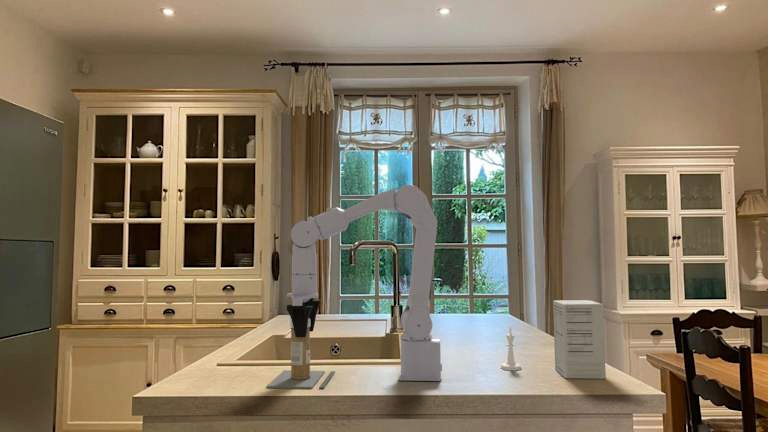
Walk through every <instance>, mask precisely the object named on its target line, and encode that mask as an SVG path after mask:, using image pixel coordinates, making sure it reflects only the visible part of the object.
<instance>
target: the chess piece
mask: <svg viewBox="0 0 768 432" xmlns="http://www.w3.org/2000/svg"><path fill="white" fill-rule="evenodd" d="M508 331H509V333H507V334H506V336H505V337H506V339H507V343H506V345H505V346H507V347H508V353H507V359H506V360H505V362H503V363H501V365H500V368H501V370H505V371H520V370H521V369H522V365H521V364H520V363H517V362H516V360H515V357H514V348H513V347H515V346H516V344H515V343H513V342H514V338H515V334H513V333H512V327H511V326H509V329H508Z"/></svg>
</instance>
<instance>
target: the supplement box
mask: <svg viewBox="0 0 768 432" xmlns="http://www.w3.org/2000/svg"><path fill="white" fill-rule="evenodd" d="M552 304H553V306H552V309H553V329H554V330H553V331H554V332H553V335H554V338H553V340H554V341H553V342H554V371H557V372H558V373H559V374H560V375H562V377H564V378H565V379H589V380H590V379H591V380H592V379H593V380H594V379H596V380H597V379H601V380H604V379H607V378H606V377H607V376H606V371H607V370H606V347H605V346H606V345H605V342H606V341H605V315H604V314H605V313H604V311H605V310H604V303H600V302H597V301H593V300H590V299H589V300H588V299H583V300H582V299H581V300H580V299H579V300H577V299H575V300H572V299H571V300H570V299H569V300H568V299H567V300H566V299H565V300H562V299H560V300H555V299H554V300H553V301H552Z"/></svg>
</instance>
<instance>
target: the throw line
mask: <svg viewBox="0 0 768 432" xmlns="http://www.w3.org/2000/svg"><path fill="white" fill-rule="evenodd" d="M334 373H336V371H333V370H332V371H331V370H330V372H329V374H328V375H327V376H326V378H325V379H324V381H323V382H322V383H321V385H320V386H319V387H318V389H319V390H324V389H326V387H327V385H328V384H329V383H330V381H331V379H332V378H333V377H334V375H335V374H334ZM332 376H333V377H332Z"/></svg>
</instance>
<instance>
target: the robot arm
mask: <svg viewBox="0 0 768 432" xmlns="http://www.w3.org/2000/svg"><path fill="white" fill-rule="evenodd" d="M325 209H326V211H324V212H322V213H319V214H317V215H315V216H314V217H313V216H308V217H306V218H307V221H306V220H300V221H299V222H297V223H295V225H294V226H292V229H291V230H290V237H291V240H292V242H293V243H292V247H291V251H292V254H291V292H289V293H287V294H286V297H287V298H291V301H292V303H291V304H287V305H286V311H287V312H288V315H289V317H290V320H291V319H292V323H293V327H294V332H295V336H296V337H306V333H307V326H308V319H309V318H310V321H311V326H310V332H314V328H315V324H316V318H317V313H318V311H319V308H320V305H321V304H322V299H317V298H318V297H319V292H318V254H317V253H316V251H317V248H316V247H317V246H316V245H317V244H316V242H317V241H318V240H320V241H324V240H326V239H328V238H331V237H332V236H333V237H334V236H336V235H338V234H340V233H342V232H344V231H346V230H347V229H348V227H349V224H350V223H351V222H353V221H356V220H358V219H361V218H362V217H365V216H368V215H371V214H373V213H375V212H377V211H388V212H392V211H393V210H395V211H396V212H397V213H398V214H400V215H401V216H403V217H405V218H406V219H407V220H408V221H410V223H411V224H412V225H413V226H414V227H415V229H416V230H415V238H414V245H413V252H412V254H413V255H412V264H411V273H410V280H409V281H410V282H409V289H408V295H407V298H406V299H407V300H406V303H405V308H404V310H403V311H402V313H401V315H400V325H401V327H402V328H403V330H404V331H403V333H402V334H401V335H400V370H399V373H398V381H410V382H411V381H412V382H415V381H416V382H418V381H419V382H420V381H421V382H440V381H442V380H441V377H442V372H443V363H442V362H441V339H440V338H436V337H435V338H433V335H432V334H431V333H432V329H433V321H432V318H431V315H430V313H431V312H430V311H431V303H430V294H431V293H430V292H431V284H432V277H433V276H432V275H433V269H434V268H433V267H434V266H433V265H434V256H435V249H436V241H437V240H436V239H437V230H438V219H437V217H436V215H435V213H434V211H433V209H432V207H431V205H430V203H429V200H428V196H427V195H426V194H425V193H424V192H423V191H422V190H421V189H420V188H418V186H416V185H413V184H405V185H403V186H401V187H399V189H398V187H397V188H396V187H395V188H392V189H390V190H386V191H383V192H380V193H378V194H376V195H373V196H372V197H369V198H367V199H365V200H363V201H361V202H359V203H357V204H354V205H352V206H350V207H348V208H346V209H342V208H340V207H337V206H336V207H334V208H332V206H330V207H328V208H325Z"/></svg>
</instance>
